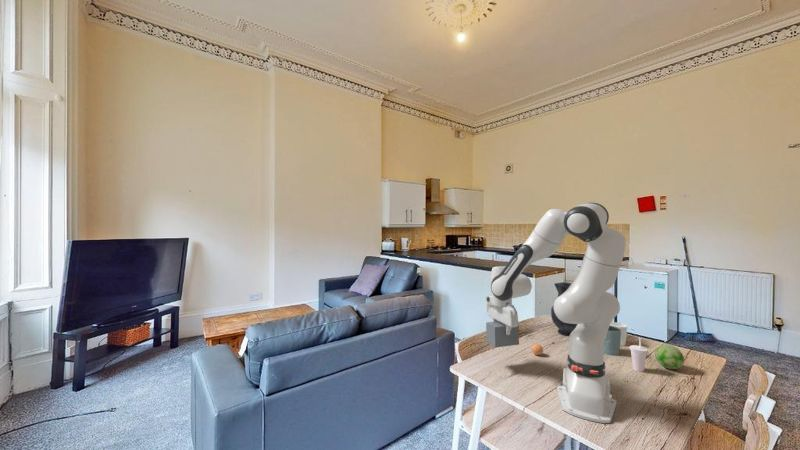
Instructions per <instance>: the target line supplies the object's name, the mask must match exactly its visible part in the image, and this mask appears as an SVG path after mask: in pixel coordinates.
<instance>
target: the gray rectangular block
mask: <svg viewBox="0 0 800 450" xmlns="http://www.w3.org/2000/svg"><path fill="white" fill-rule="evenodd" d="M485 328H486V330H485V331H486V333H485V334H486V336H485V337H486V343H487V344H489V345H491V346H492V347H494V348H502V347H511V346H519V345H520V329H519V324H518V326H517V327H512V329H511V331H510V335H506V334H505V330H506V328H507V327H506V325H505V324H503V323H501V322H499V321H495V322H493V321H486V322H485Z"/></svg>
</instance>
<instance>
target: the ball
mask: <svg viewBox="0 0 800 450" xmlns="http://www.w3.org/2000/svg"><path fill="white" fill-rule="evenodd" d="M531 351H532V353H533V354H534V355H536V356H540V355H542V354H543V352H544V348H543V347H542V345H540V344H538V343H535V344H533V345H532V347H531Z"/></svg>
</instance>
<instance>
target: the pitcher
mask: <svg viewBox="0 0 800 450" xmlns="http://www.w3.org/2000/svg"><path fill="white" fill-rule="evenodd" d="M571 284H572V282H567V281H561V282H556V283H554V287H555V289H556V291H557V296H556V298H557V297H559V296H560V295H562V294H563V293H564V292H565V291H566V290H567V289H568V288H569V286H570V285H571ZM550 310H551V311H550V314H551V315H550V316H551V320H552V322H553V324H554V325H555V326H556V328H557V333H558V334H560V335H562V336H566V337H569V336H570V334H571V332H572V331H573V330H574V329H575V328H576V326H577V324H570V323H564V322H562V321H561V320H559V319H558V317H557V316H556V314H555V312H554V304H553V305H552V306H551V309H550Z"/></svg>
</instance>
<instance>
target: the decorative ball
mask: <svg viewBox="0 0 800 450" xmlns="http://www.w3.org/2000/svg"><path fill="white" fill-rule="evenodd" d="M654 358H655V360H656V361H657V362H658V363H659V364H660V365H661V366H662V367H663V368H665V369H669V370H677V369H678V370H679V369H680V368H682V367H683V365H684V363H685V356H684V355H683V353H682V351H681V350H680V349H679V348H678V347H675V346H673V345H672V344H671V345H670V344H662V345H660V346H658V347H656V349H655V350H654Z"/></svg>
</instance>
